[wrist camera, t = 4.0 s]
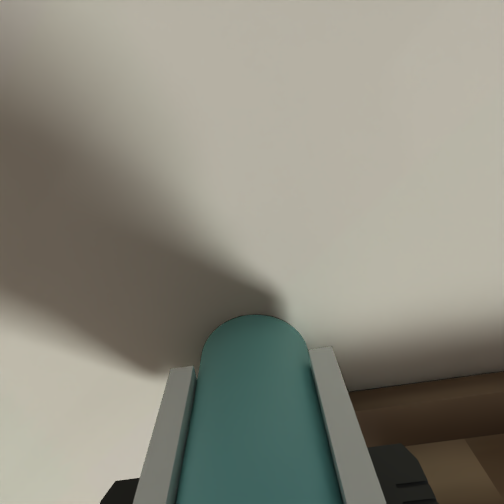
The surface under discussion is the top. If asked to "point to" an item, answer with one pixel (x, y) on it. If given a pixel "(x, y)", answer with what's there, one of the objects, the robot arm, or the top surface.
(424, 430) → the socket
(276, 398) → the peg
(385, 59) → the top surface
